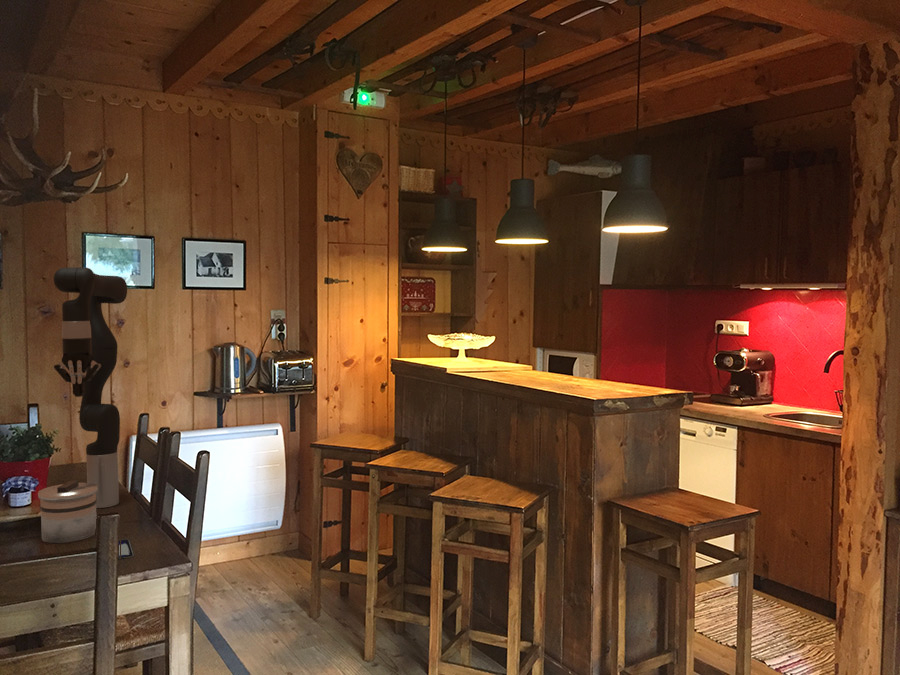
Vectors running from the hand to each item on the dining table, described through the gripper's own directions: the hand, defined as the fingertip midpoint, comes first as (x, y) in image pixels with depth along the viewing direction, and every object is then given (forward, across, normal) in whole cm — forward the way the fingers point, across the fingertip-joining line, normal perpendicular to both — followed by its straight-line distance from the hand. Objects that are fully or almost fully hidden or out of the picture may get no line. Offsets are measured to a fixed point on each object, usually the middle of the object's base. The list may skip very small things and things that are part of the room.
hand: (78, 396), depth 214 cm
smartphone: (+40, -17, +21) cm, 48 cm away
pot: (+39, +2, +6) cm, 39 cm away
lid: (+27, +1, +5) cm, 28 cm away
